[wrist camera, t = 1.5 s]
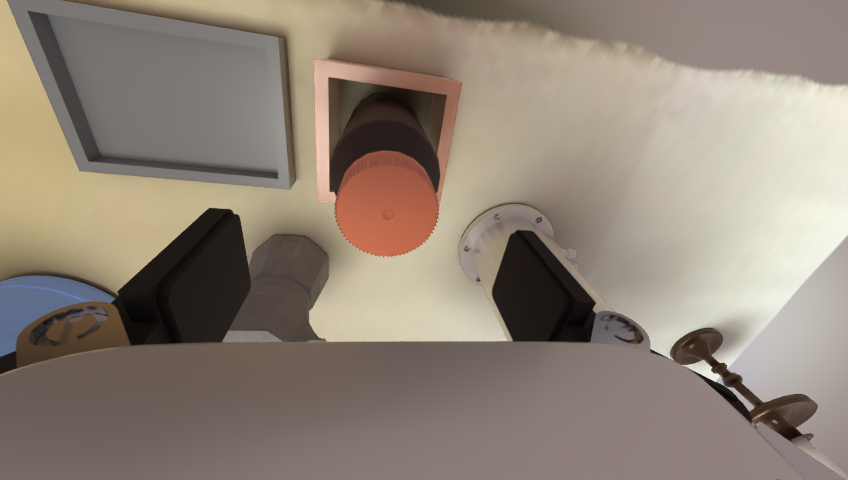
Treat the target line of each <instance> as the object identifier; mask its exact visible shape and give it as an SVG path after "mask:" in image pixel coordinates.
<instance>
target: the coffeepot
mask: <svg viewBox="0 0 848 480" xmlns="http://www.w3.org/2000/svg"><path fill="white" fill-rule="evenodd" d="M249 273H250V278H251V288H250V291H249V293H248V295H247V297H246V299H245V301H244V302H243V304H242V306H241V308H240V310H239V312H238V314H237V315H236V317H235V319H234V321H233V323H232V325H231V326H230V328H229V330H228V332H227V334H226V336H225V338H224V339H223V341H222V342H327V341H326V340H325V339H321V338H319V337H318V336H317V335H316V334H315V333H314V331H313V329H312V327H311V326H310V324H309V311H310V310H311V309H312V307H313V306H314V304H315V302H316V300H317V298H318V296H319V295H320V293H321V291H322V289H323V287H324V286H325V284H326V282H327V280H328V255H327V254H326V253H325V252H324V251H323V250H322V249H321V248H320V247H319V246H318V245H316V244H315V243H314V242H312V241H310V240H309V239H308V238H306V237H303V236H296V235H273V236H272V237H271V238H270V239H268V240H267V241H265V242H264V243H263V244H262V245H261V246H260V247H259V248H257V249H256V250H255V251H254V252H253V254H252V258H251V261H250V264H249Z"/></svg>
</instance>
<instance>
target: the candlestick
mask: <svg viewBox="0 0 848 480" xmlns="http://www.w3.org/2000/svg"><path fill="white" fill-rule="evenodd" d="M722 341H723V337H722V335H721V334H720V333H719V332H717V331H716V330H715V329H712V328H703V329H699V330H696V331H693V332H691V333H689V334H687V335H685V336H684V337H682V338H681V339H680V340H679V341H677V342H676V343H675V345H674V346H673V347H672V349H671V352H670V355H671V358H672V359H673V360H674V361H675V362H677V363H679V364H681V365H688V364H693V363H696V362H699V361H701V360H705V361H706V362H707V363H708V364H709V365H710V366H711V367H712V369H711V371H712V372H713V373H718V374H719V375H720V376H721V377H722V381H723V383H724V385H725V386H727V387H734V388H735V389H736V390H737V391H738V392H739V393H740V394H741V395H742V396H744V397H745V398H746V399H747V400H748V401H749V402H750V403H751V404H752V405H753V406H754V407H755V408H754V409H753V410H751V411H750V412H749V413H750V415H751V418H752V423H754V424H755V425H756V424H757V423H759V422H762V423H763V424H765V425H766V426H768V427H769V428H771V429H772V430H774V431H775V432H777V433H778V434H780V435H781V436H783V437H784V438H786V439H787V440H788V441H790V442H791V443H793V444H794V445H796V446H797V447H799V448H800V449H802V450H803V451H805V452H806V453H808V454H809V455H811V456H812V457H813V458H815V459H816V460H818V461H819V462H821V463H822V464H824V465H825V466H827V467H828V468H830V469H831V470H833V471H834V472H836V473H837V474H839V475H840V476H841V477H843V478H844V479H846V480H848V476H847V475H846V474H845V473H844V472H843V471H842V470H840V469H839V468H838V467H837V466H836V465H835V464H834V463H833V462H831V461H830V460H829V459H828V458H827V457H826V456H825V455H824V454H822V453H821V452H820V451H819V450H818V449H817V448H816V447H815V446H813V444H811V443H810V442H809V440H810V439H812V438H813V436H814V435H813V434H805V435H803V434H801V433H800V432H799V431H798V430H797V429H796V427H798V426H799V425H801V424H802V423H804V422H805V421H807V420H808V419H809V418H810V417H812V415H813V414H814V413H815V412H816V410H817V407H818V406H817V404H816V403H815V402H814V401H812V400H811V399H810V398H809V397H808V396H806V395H803V394H793V395H788V396H783V397H780V398H777V399H774V400H771V401H769V402H765V403H763V402H762V401H761V400H760V399H759V398H758V397H756V396H755V395H754V394H753V393H752V392H751V391H750V390H749V389H748V388H746V387H745V386H744V385H743V384H742V380H743V379H742V377H741V376H740V375H738V374H736V373H731V372H730V371H729V370H727V369H726V368H727V365H726V364H725V363H719V362H718V361H717V360H716V359H714V358H713V357H712V354H713V353H714V352H715V351H716V350H717V349H718V348H719V347H720V346H721V344H722Z"/></svg>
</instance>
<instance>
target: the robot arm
mask: <svg viewBox="0 0 848 480" xmlns="http://www.w3.org/2000/svg"><path fill="white" fill-rule="evenodd" d="M495 214H496V215H495ZM576 257H577V251H576V249H574V248H561V247H560V246H559V245H558V244H557V243H556V242H555V241H554V232H553V228H552V226H551V224H550V222H549V221H548V220H547V218H546V217H545V216H544V215H543V214H542V213H541V212H539V211H538V210H536V209H534V208H533V207H530V206H526V205H521V204H508V205H503V206H499V207H495V208H493V209H491V210H489V211H487V212H485V213H484V214H482V215H481V216H479V217H478V218H477V219H476V220H475V221H473V222H472V223H471V224H470V226H469V227H468V228H467V230H466V231H465V233H464V235H463V237H462V239H461V242H460V246H459V260H460V264H461V266H462V269H463V271H464V272H465V274H466V275H467V276H468V278H469V279H470V280H472V281H473V282H474V283H476V284H478V285H481V286H483V287H484V289H485V291H486V293H487V296H488V298H489V300H490V302H491V305H492V307H493V309H494V311H495V314H496V316H497V318H498V320H499V323H500V325H501V327H502V329H503V332H504V334H505V336H506V338H507V341H424V342H222V341H223V339H224V338H225V336H226V334H227V332H228V330H229V328H230V326H231V325H232V323H233V321H234V319H235V317H236V315H237V314H238V312H239V310H240V308H241V306H242V304H243V302H244V301H245V299H246V297H247V295H248V293H249V291H250V288H251V278H250V273H249V267H248V261H247V256H246V250H245V244H244V239H243V233H242V227H241V221H240V217H239V215H237V214H234V213H233V211H232V210H231V209H217V208H209V209H207V210H206V211H205V212H204V213H203V214H202V215H201V216H200V217H199V218H198V219H197V220H195V221H194V222H193V223H192V224H191V225H190V226H189V227H188V228H187V229H186V230H184V231H183V232H182V233H181V234H180V235H179V236H178V237H177V238H176V239H175V240H174V241H172V242H171V243H170V244H169V245H168V246H167V247H166V248H165V249H164V250H163V251H161V252H160V253H159V254H158V255H157V256H156V257H155V258H154V259H153V260H152V261H151V262H149V263H148V264H147V265H146V266H145V267H144V268H143V269H142V270H141V271H140V272H138V273H137V274H136V275H135V276H134V277H133V278H132V279H131V280H130V281H129V282H127V283H126V284H125V285H124V286H123V287H122V288H121V289H120V290H119V291H118V294H119V296H118V297H117V298H116V299H115V300H113V301H112V302H111V303H107V302H100V301H92V302H82V303H77V304H73V305H69V306H65V307H63V308H60V309H57V310H54V311H52V312H50V313H48V314H46V315H44V316H42V317H40V318H38V319H36V320H35V321H33V322H32V323H31V324H29V325H28V326H26V327H25V328H24V330H23V331H22V332H21V333H20V334H19V335H18V338H17V341H16V351H14V352H11V353H9V354H6V355H3V356H1V357H0V480H846V479H844V478H843V477H841V476H840V475H839V474H837V473H836V472H834V471H833V470H831V469H830V468H828V467H827V466H825V465H824V464H822V463H821V462H819V461H818V460H816V459H815V458H813V457H812V456H811V455H809V454H808V453H806V452H805V451H803V450H802V449H800V448H799V447H797V446H796V445H794V444H793V443H791V442H790V441H788V440H787V439H786V438H784V437H783V436H781V435H780V434H778V433H777V432H775V431H774V430H772V429H771V428H769V427H768V426H766V425H765V424H763V423H762V422H759V423H757V424H756V425H755V424H754V423H752V418H751V415H750V413H749V411H748V410H747V408H746V407H745V406H744V404H743V403H742V402H741V401H740V400H739V399H738V398H737V396H736V395H735V394H734V393H733V392H732V391H730V390H729V389H727V388H726V387H725V386H723V385H721V384H719V383H717V382H714V381H712V380H710V379H708V378H706V377H704V376H702V375H700V374H699V373H697V372H695V371H693V370H691V369H689V368H687V367H685V366H683V365H681V364H679V363H677V362H675V361H673V360H671V359H669V358H667V357H665V356H663V355H661V354H659V353H657V352H655V351H653V350H651V349H650V340H649V336H648V335H647V333H646V332H645V330H644V329H643V328H642V327H641V326H639V325H638V324H637V323H636V322H634V321H633V320H631V319H630V318H628V317H626V316H624V315H622V314H619V313H616V312H615V311H614V310H613V309H612V308H611V307H610V306H609V305H608V304H607V303H606V301H605V300H604V299H603V298H602V297H601V296H600V295H599V294H598V293H597V292H596V291H595V289H594V288H593V287H592V286H591V285H590V284H589V283H588V282H587V281H586V280H585V279H584V278H583V276H582V275H581V274H580V273H579V266H578V265H577V264H576V263H570V262H569V261H568V260H567V259H575V258H576Z"/></svg>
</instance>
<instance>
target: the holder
mask: <svg viewBox="0 0 848 480" xmlns="http://www.w3.org/2000/svg"><path fill="white" fill-rule="evenodd" d="M339 79H345V80H352V81H359V82H365V83H372V84H378V85H385V86H391V87H398V88H405V89H411V90H418V91H424V92H431V93H433V98H432V105H431V112H430V119H429V126H428V133H427V137H428V139H429V141H430V142H431V144H432V146H433V148H434V150H435V152H436V154H437V156H438V160H439V167H440V173H441V176H440V182H439V188H438V191H437V193H436V195H437V199H438V205H440V200H441V194H442V189H443V183H444V178H445V172H446V167H447V162H448V156H449V151H450V145H451V140H452V135H453V129H454V124H455V118H456V113H457V108H458V102H459V97H460V91H461V86H462V83H461V82H458V81H455V80H452V79H448V78H445V77H439V76H432V75H426V74H420V73H414V72H408V71H402V70H395V69H389V68H383V67H377V66H371V65H365V64H358V63H352V62H346V61H340V60H334V59H314V90H315V123H316V156H317V189H318V201H321V202H333V203H335V202H336V201H335V200H336V195H335V193H334V190H333V187H332V184H331V182H330V162H331V159H332V156H333V153H334V150H335V147H336V145H337V143H338V141H339ZM438 208H439V207H438Z"/></svg>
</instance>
